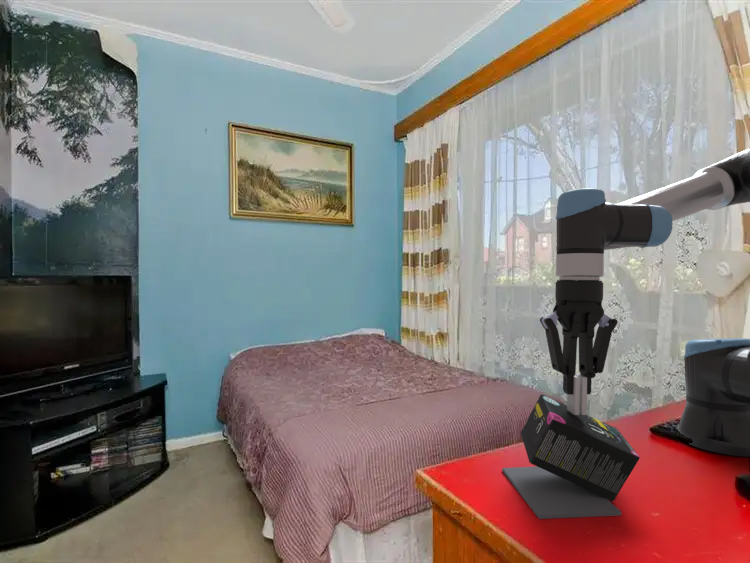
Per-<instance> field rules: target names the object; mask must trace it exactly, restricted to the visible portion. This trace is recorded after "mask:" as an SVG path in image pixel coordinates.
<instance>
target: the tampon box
mask: <svg viewBox="0 0 750 563" xmlns="http://www.w3.org/2000/svg"><path fill="white" fill-rule="evenodd" d="M520 436H521V438H522V439H521V440H522V442H523V445H524V446H523V447H524V449H525V452H526V456H527V459H528V462H529V463H530V464H531V465H533V466H534V467H539V468H542V469H544V470H546V471H548V472H550V473H552V474H555V475H557V476H559V477H561V478H563V479H565V480H568V481H570V482H572V483H574V484H576V485H578V486H580V487H582V488H585V489H587V490H589V491H591V492H593V493H595V494H597V495H599V496H602V497H604V498H606V499H607V500H609V501H610V502H611V503H612V502H613V503H614V501H615V499H616V498H617V497H618V495H619V493H620V491H621V490H622V488H623V486H624V485H625V483H626V481H627V480H628V478H629V477H630V475H631V473H632V472H633V470H634V468H635V467H636V465H637V463H638V462H639V460H640V458H641V456H640V455H639V454H638V453H637V452H636V451H635V448H633V447H632V445H631V444H630V443H629V441H628V440H627V439H626V438H625V436H624V435H623V434H622V433H621V432H620V431H619V429H618V428H617V427H615V426H612V425H611V424H607V423H605V422H603V421H600V420H598V419H596V418H594V417H592V416H590V415H587V414H586V415H581V414H580V413H579V415H574V414H573V413H571V412H570V411H568V410H567V404H564V403H561V402H559V401H558V400H555V399H554V398H551V397H550V396H549V397H548V396H547V395H545V394H542V393H540V395H539V397H538V400H537V401H536V403H535V405H534V407H533V408H532V410H531V412H530V413H529V416H528V418H527V420H526V421H525V424H524V426H523V428H522V429H521V431H520Z"/></svg>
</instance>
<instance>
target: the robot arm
mask: <svg viewBox="0 0 750 563" xmlns="http://www.w3.org/2000/svg"><path fill="white" fill-rule="evenodd" d="M606 201H607V199H606V193H605V191H604V190H602V189H598V188H591V187H589V188H587V187H586V188H585V187H584V188H574V189H571V190H567V191H564V192H562V193H561V194H560V195H559V196H558V200H557V205H556V206H557V207H556V216H555V220H556V235H555V236H556V241H555V242H556V243H555V244H556V250H555V251H556V255H555V256H556V258H555V276H556V277H559V279H556V281H555V290H554V291H555V305H554V307H553V309H552V313H550V314H548V315H547V316H542V317H540V318H539V322H540V324H541V326H542V328H543V329H544V330H545V337H546V342H547V346H548V347H547V348H548V352H549V357H550V363H551V368H552V369H553V370H554V371H556V372H558V373H561V374H562V390H563V392H564V393H565V394H567V396H566V406H567V410H568V411H570V412H571V413H573V414H574V415H579V413H580V414H581V415H587V409H588V408H587V407H588V406H587V404H588V403H587V402H588V401H587V400H588V395H591V393H592V379H594V378H595V377H596V374H603V372H604V370H605V365H606V361H607V356H608V351H609V348H610V343H611V338H612V333H613V331H614V329H615V328H616V327H617V326H618V323H619V321H618V319H616V318H613V317H610V316H609V315H607V314H605V310H604V307H603V305H602V304H603V300H604V282H603V281H602V280H601V278H603V277H604V276H605V274H604V273H605V270H604V269H605V268H604V267H605V262H604V260H605V259H604V258H605V256H604V254H605V250H607V251H608V250H617V249H624V248H625V249H626V248H636V247H637V248H641V249H643V248H654V247H659V246H661V245H662V244H664V243H666V241H667V240H668V239H669V237H670V236H671V234H672V232H673V222H675V221H678V220H679V219H683V218H685V217H688V216H691V215H694V214H696V213H699V212H701V211H704V210H709V211H716V210H720V209H723V208H726V207H729V206H735V205H739V204H746V203H750V147H749V148H747V149H744V150H742V151H740V152H737V153H735V154H733V155H731V156H728V157H726V158H724V159H723V160H720V161H718V162H716V163H713V164H711V165H709V166H707V167H704V168H701V169H699V170H697V171H696V172H695V173H694V175H693V176H691V177H688V178H685V179H683V180H679V181H678V182H675V183H672V184H669V185H667V186H665V187H664V186H663V187H661V188H657V189H655V190H652V191H649V192H647V193H645V194H642V195H639V196H636V197H632V198H630V199H627V200H625V201H622V202H619V203H611V202H606ZM558 323H559V324H560V325H561V327H562V330H561V331H562V332H561V334H562V336H563V337H562V338H563V339H562V342H561V338H560V333H559V329H558V325H559V324H558ZM597 325H598V327H597V328H596V326H597ZM595 328H596V329H597V330H596V332H595ZM595 333H596V334H595ZM594 337H595V338H594ZM561 343H562V344H561ZM577 347H578V348H577ZM684 348H685V351H684V356H683V359H684V377H685V378H684V380H685V381H684V382H685V406H684V409H683V412H682V415H681V417H680V421H679V422H678V423H677V428H676V429H678V431H679V432H680V433H681V434H683V435H684V436H686V437H688V438H691V439H692V441H693V442H692V443H689V444H688V445H691V446H692V447H695V448H697V449H701V450H705V451H708V452H711V453H717V454H720V455H721V454H722V455H727V456H733V457H735V456H736V457H745V458H748V457H749V458H750V338H746V337H745V338H742V337H741V338H739V337H738V338H734V337H733V338H732V337H731V338H730V337H729V338H728V337H727V338H698V339H697V338H696V339H695V338H694V339H691V340H689V341H687V342H686V344H685V347H684ZM577 349H578V350H577ZM577 351H578V353H577ZM577 354H578V371H579V373H577V372H576V371H577V370H576V369H577Z"/></svg>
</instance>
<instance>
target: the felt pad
mask: <svg viewBox="0 0 750 563" xmlns="http://www.w3.org/2000/svg"><path fill="white" fill-rule="evenodd" d="M501 470H502V473H503V474H504V475H505V477H506V478H507V479H508V480H509V482H510V483H511V484H512V486H513V487H514V488H515V489H516V491H517V493H518V494H519V495H520V496H521V497H522V498H523V500H524V501H525V502H526V504H527V505H528V507H529V508H530V509H531V510H532V511H533V513H534V514H535V515H536V517H537V518H538V519H539V520H545V519H546V520H548V519H567V518H568V519H569V518H572V519H573V518H590V517H612V516H613V517H614V516H618V517H619V516H622V511H621V510H620V509H619V508H618V507H617V506H615V504H613V503H612V501H610V500H608V499H606V498H604V497H602V496H599V495H597V494H595V493H593V492H591V491H589V490H587V489H585V488H582V487H580V486H578V485H576V484H574V483H572V482H570V481H568V480H565V479H563V478H561V477H559V476H557V475H555V474H552V473H550V472H548V471H546V470H544V469H542V468H539V467H537V466H517V467H516V466H515V467H502V468H501Z"/></svg>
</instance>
